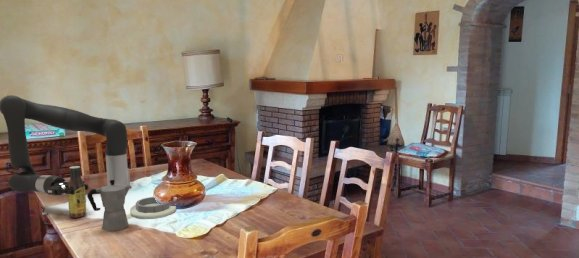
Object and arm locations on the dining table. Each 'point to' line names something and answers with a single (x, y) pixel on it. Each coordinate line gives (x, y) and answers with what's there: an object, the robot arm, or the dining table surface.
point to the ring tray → (151, 215)
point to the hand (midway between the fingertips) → (80, 189)
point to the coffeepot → (112, 205)
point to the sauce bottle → (76, 193)
